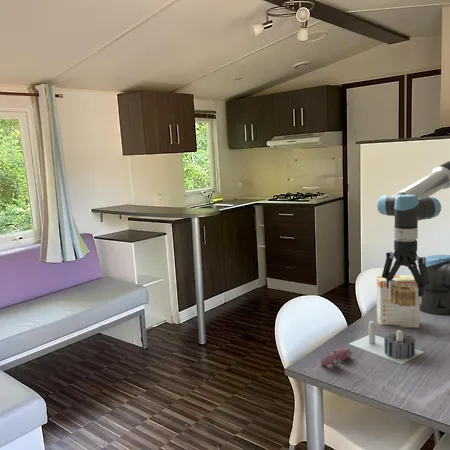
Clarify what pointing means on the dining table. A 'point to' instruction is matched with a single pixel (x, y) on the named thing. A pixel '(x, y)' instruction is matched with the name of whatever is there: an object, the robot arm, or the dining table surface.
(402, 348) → the gear
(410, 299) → the wooden gear
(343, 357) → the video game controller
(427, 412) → the dining table surface
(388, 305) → the coffeecake box
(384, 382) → the dining table surface
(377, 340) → the gear board
